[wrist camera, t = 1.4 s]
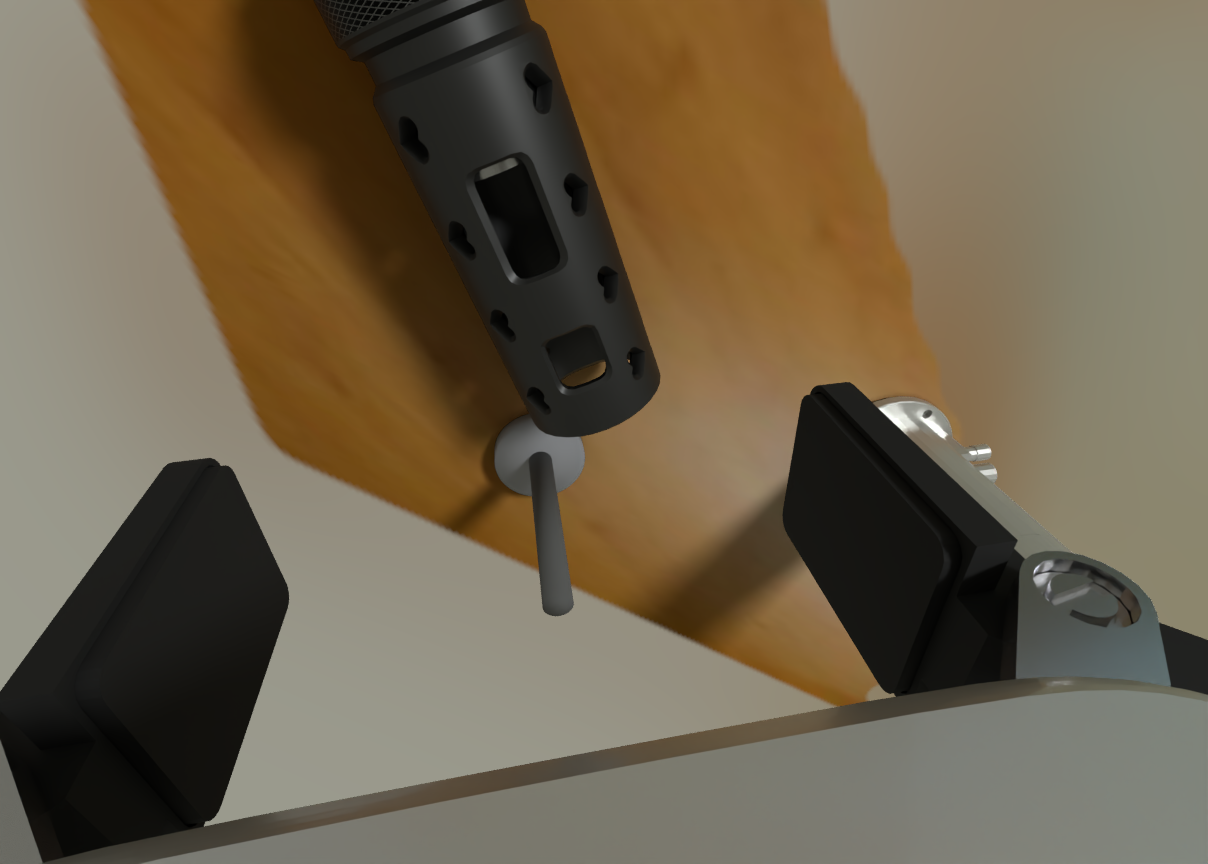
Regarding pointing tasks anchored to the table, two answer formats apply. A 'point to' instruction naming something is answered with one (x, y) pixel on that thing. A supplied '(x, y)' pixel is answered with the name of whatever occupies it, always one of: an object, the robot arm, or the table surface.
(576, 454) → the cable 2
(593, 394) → the muzzle brake
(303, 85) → the table surface
